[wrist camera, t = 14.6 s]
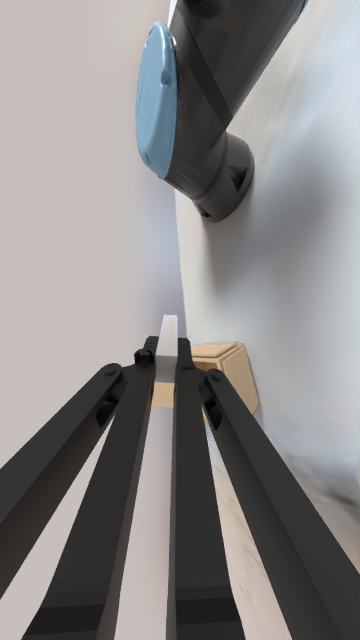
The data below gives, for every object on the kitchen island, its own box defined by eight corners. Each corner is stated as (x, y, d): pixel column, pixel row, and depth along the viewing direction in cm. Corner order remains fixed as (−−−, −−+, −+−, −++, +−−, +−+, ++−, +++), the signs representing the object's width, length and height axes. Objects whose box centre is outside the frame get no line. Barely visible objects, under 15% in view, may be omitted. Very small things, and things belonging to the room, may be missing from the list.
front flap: (172, 358, 40) (142, 362, 44) (172, 359, 39) (141, 363, 44) (183, 406, 39) (151, 406, 44) (183, 408, 39) (150, 407, 43)
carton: (199, 343, 48) (172, 354, 39) (246, 339, 35) (221, 354, 27) (210, 391, 47) (185, 413, 38) (262, 405, 34) (243, 443, 26)
